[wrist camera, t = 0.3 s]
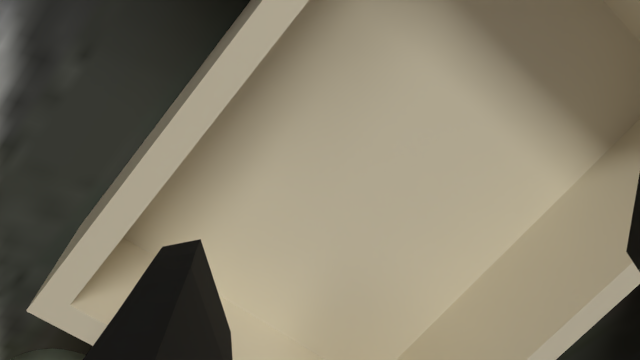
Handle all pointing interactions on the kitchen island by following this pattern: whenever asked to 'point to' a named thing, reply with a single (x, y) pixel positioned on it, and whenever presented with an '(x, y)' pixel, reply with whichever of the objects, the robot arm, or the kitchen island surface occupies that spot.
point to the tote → (386, 181)
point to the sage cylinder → (50, 355)
